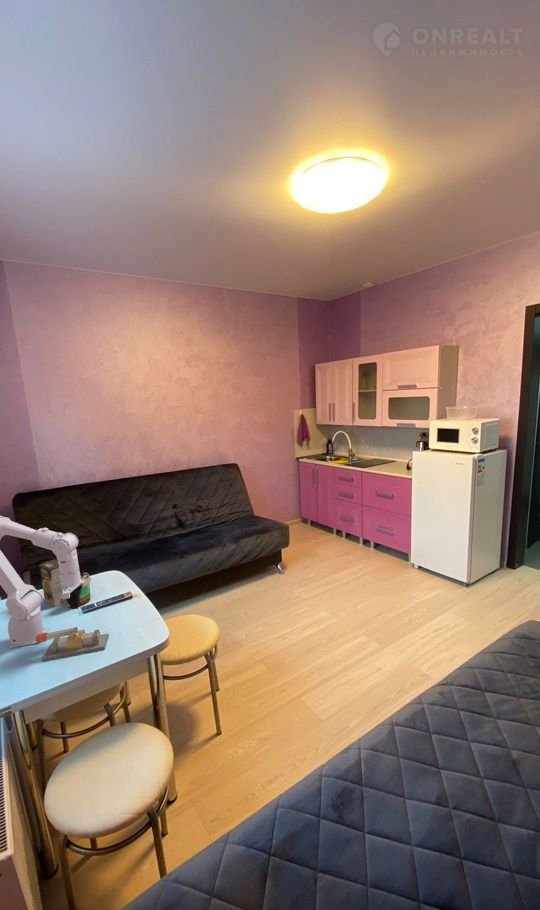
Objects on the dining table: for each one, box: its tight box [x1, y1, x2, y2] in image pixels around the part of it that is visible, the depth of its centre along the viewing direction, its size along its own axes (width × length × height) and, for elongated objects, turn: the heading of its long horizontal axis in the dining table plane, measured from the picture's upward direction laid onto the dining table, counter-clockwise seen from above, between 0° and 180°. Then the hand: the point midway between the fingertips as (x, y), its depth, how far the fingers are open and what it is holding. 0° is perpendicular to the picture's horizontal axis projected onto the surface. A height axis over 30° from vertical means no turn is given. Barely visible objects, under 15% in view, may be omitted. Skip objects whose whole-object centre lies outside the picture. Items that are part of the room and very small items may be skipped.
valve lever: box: [35, 626, 79, 644], centre depth 122 cm, size 12×2×2 cm, turn 108°
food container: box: [66, 572, 92, 609], centre depth 153 cm, size 12×6×10 cm, turn 168°
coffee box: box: [38, 558, 68, 608], centre depth 155 cm, size 9×6×16 cm
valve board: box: [42, 633, 110, 662], centre depth 125 cm, size 18×7×1 cm, turn 103°
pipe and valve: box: [50, 629, 101, 653], centre depth 124 cm, size 14×4×4 cm, turn 103°
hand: (75, 608), depth 130 cm, fingers closed
